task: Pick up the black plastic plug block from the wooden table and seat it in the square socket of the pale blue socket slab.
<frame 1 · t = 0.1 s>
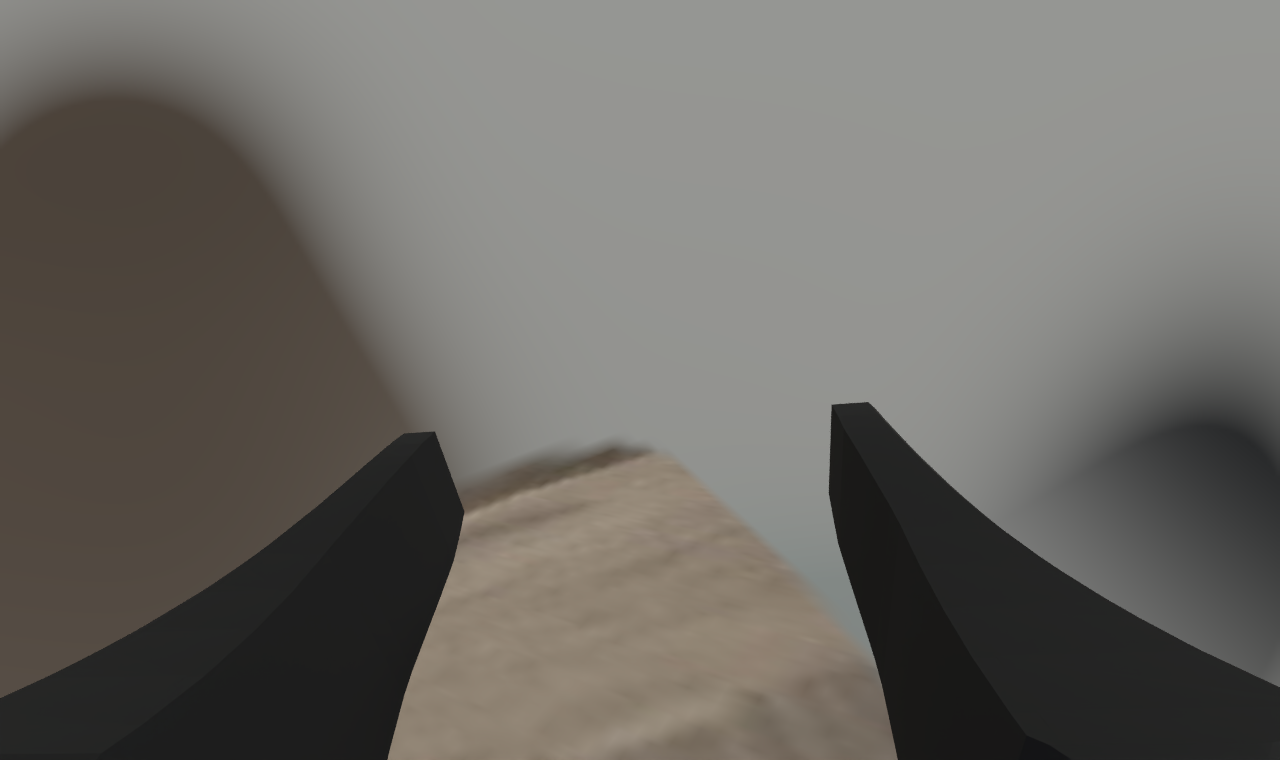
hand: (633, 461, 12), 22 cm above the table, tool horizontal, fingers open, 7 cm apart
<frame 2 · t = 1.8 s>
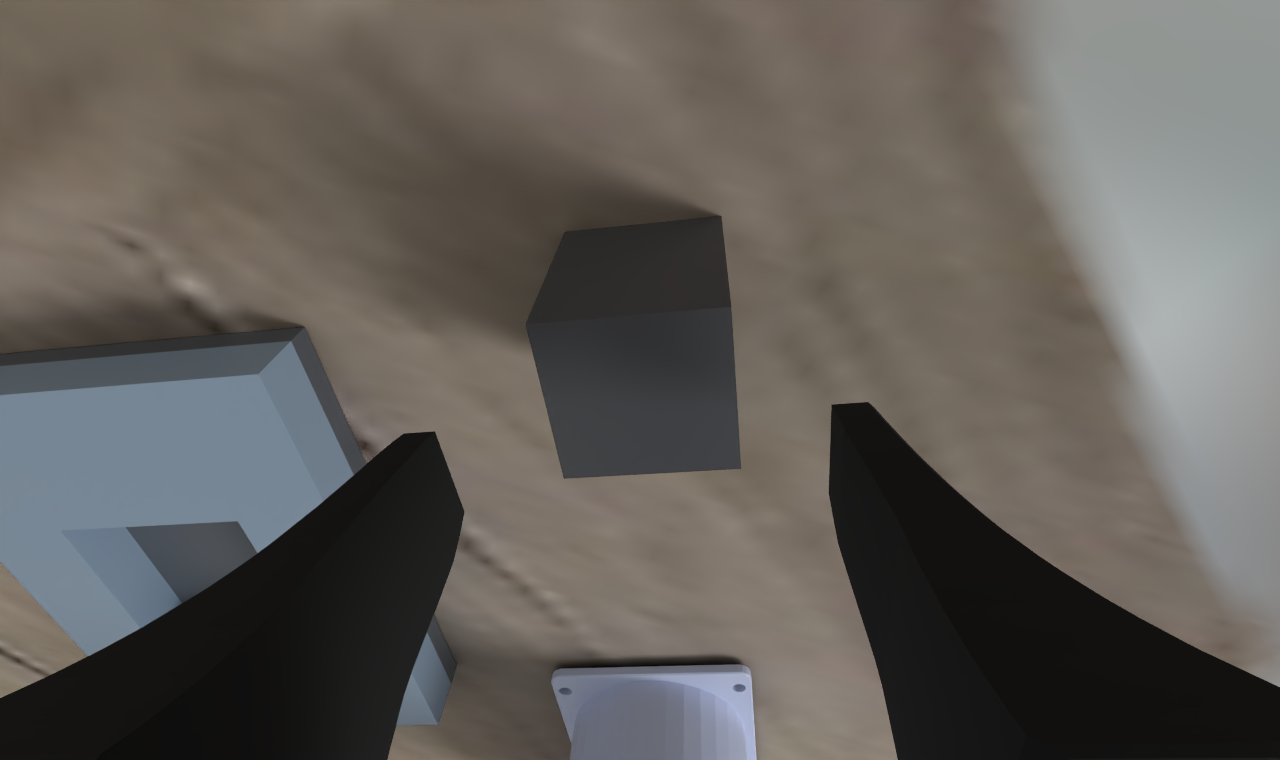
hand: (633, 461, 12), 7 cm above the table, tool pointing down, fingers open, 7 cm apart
plug: (651, 294, 18), on the table
pale blue socket slab: (236, 535, 24), on the table
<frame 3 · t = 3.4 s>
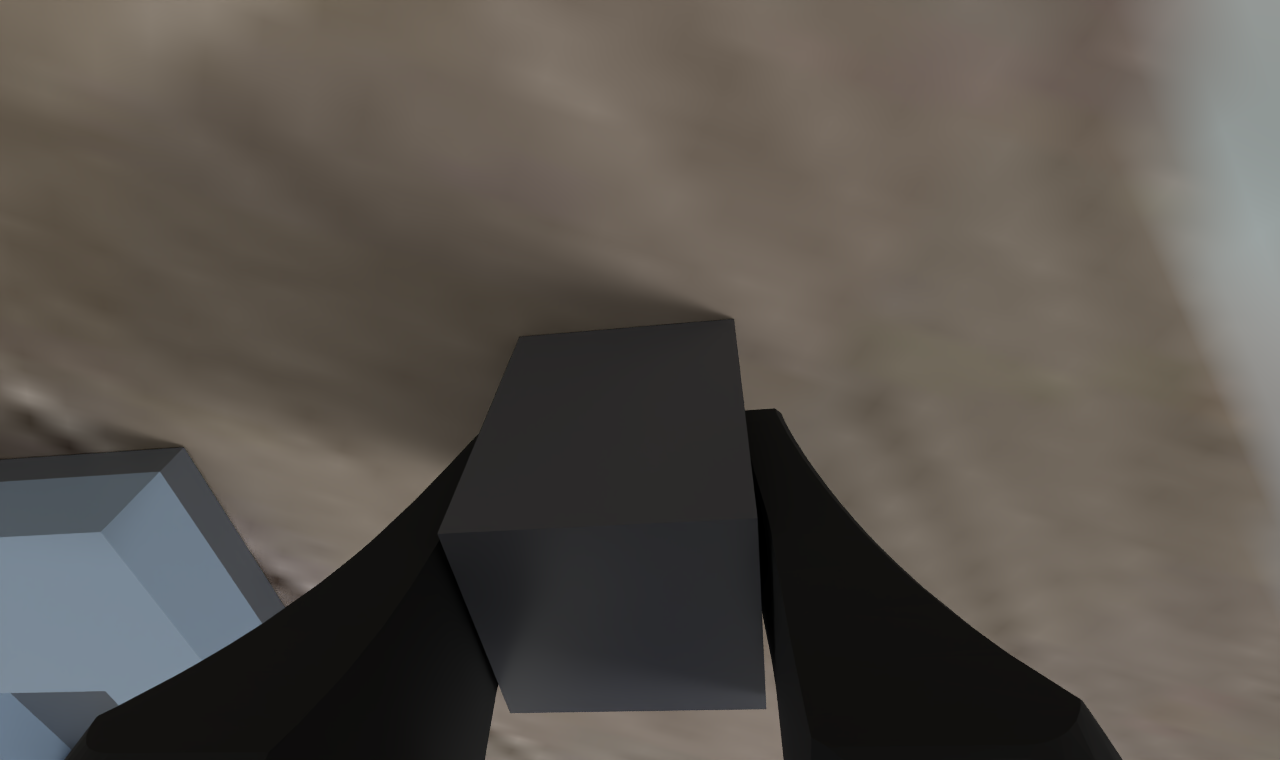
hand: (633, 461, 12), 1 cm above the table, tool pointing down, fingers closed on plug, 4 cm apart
plug: (638, 415, 14), on the table, touching gripper
pale blue socket slab: (131, 673, 20), on the table
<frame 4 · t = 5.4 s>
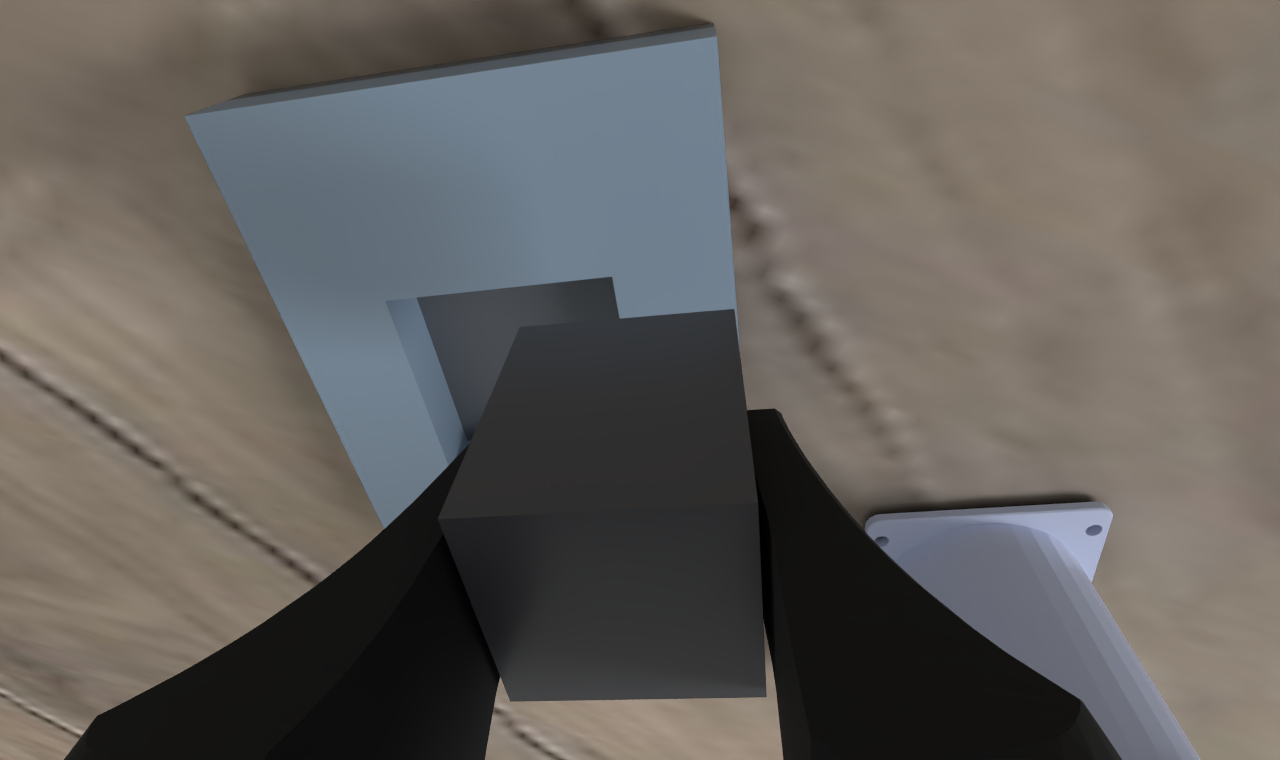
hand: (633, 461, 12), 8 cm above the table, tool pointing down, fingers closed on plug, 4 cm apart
plug: (638, 406, 14), point 7 cm above the table, touching gripper
pale blue socket slab: (540, 341, 21), on the table
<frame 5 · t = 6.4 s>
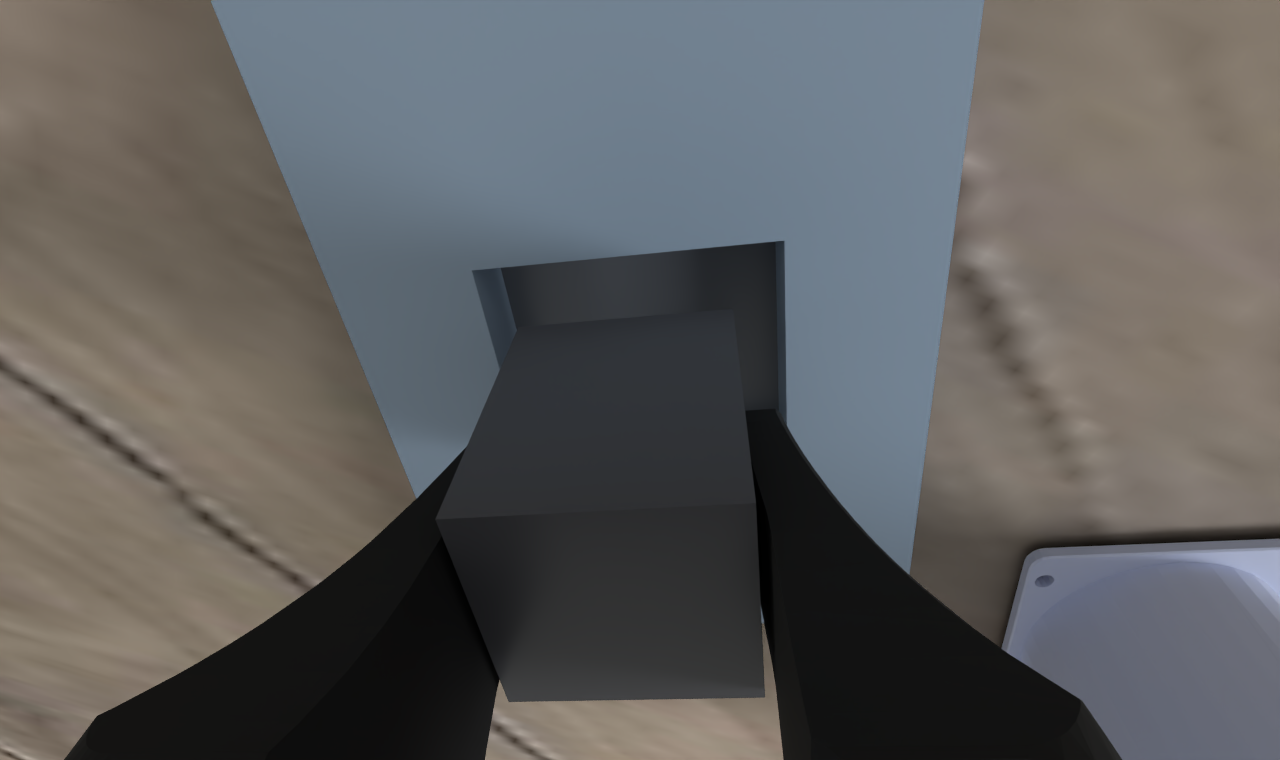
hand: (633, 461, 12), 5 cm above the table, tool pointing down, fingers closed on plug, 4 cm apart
plug: (637, 406, 14), point 3 cm above the table, touching gripper
pale blue socket slab: (649, 329, 17), on the table
when the fingers open (3 cm above the table, at t = 7.5 s): plug drops 1 cm, resting on pale blue socket slab.
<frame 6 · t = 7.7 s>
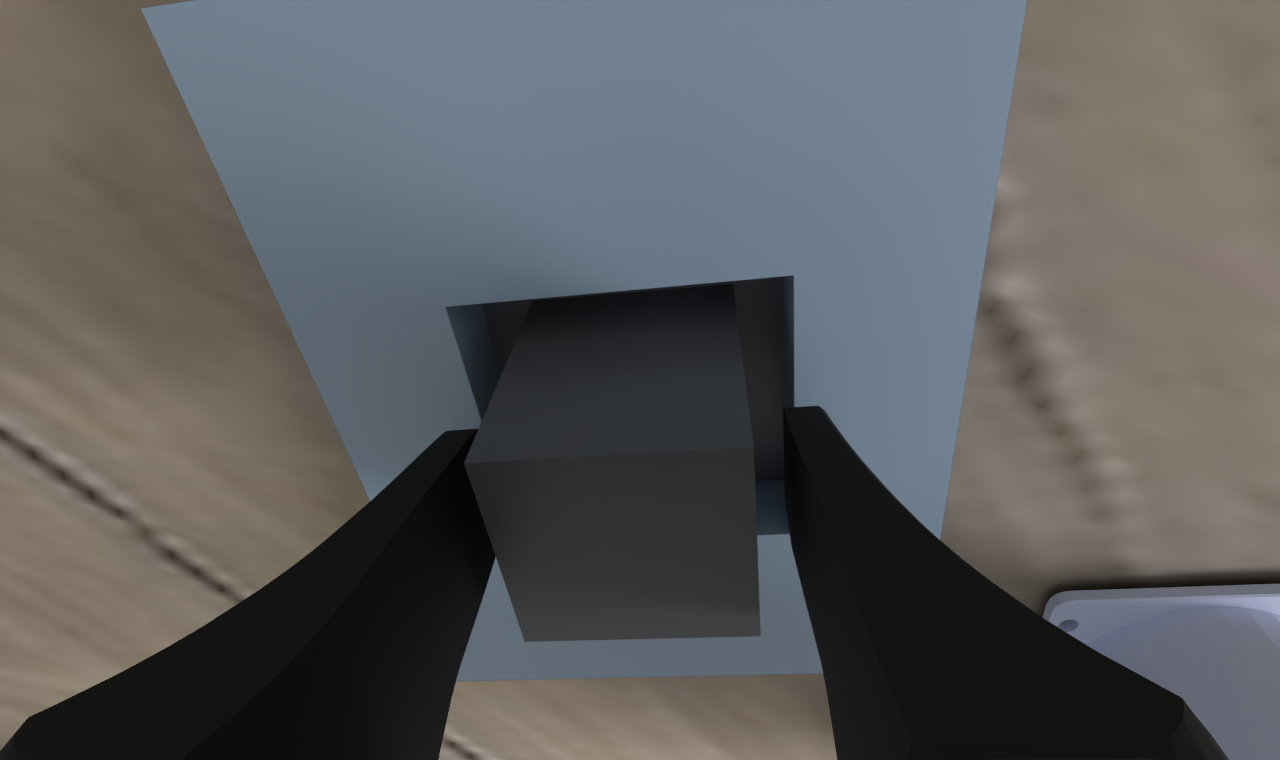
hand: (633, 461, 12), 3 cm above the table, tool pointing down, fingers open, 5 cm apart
plug: (642, 377, 14), point 1 cm above the table, touching pale blue socket slab
pale blue socket slab: (644, 362, 15), on the table
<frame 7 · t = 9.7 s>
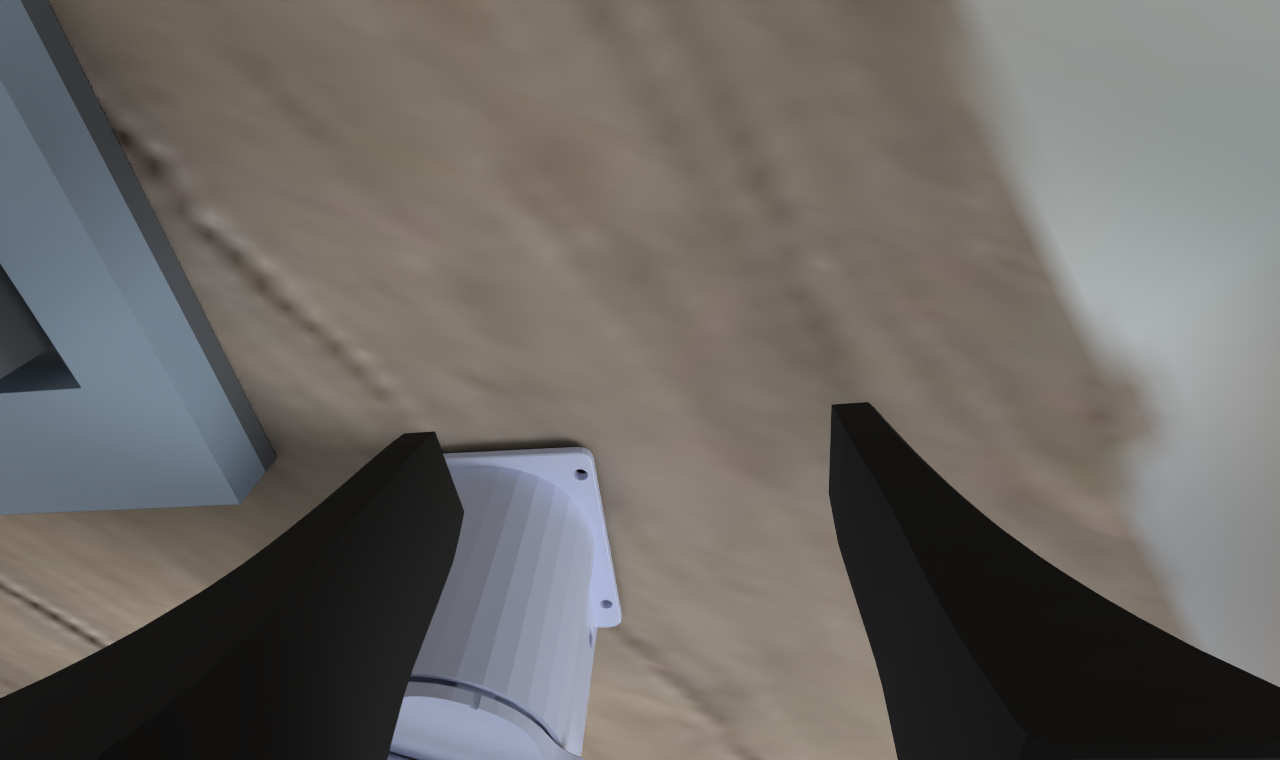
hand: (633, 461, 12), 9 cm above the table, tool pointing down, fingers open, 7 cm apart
pale blue socket slab: (3, 272, 22), on the table
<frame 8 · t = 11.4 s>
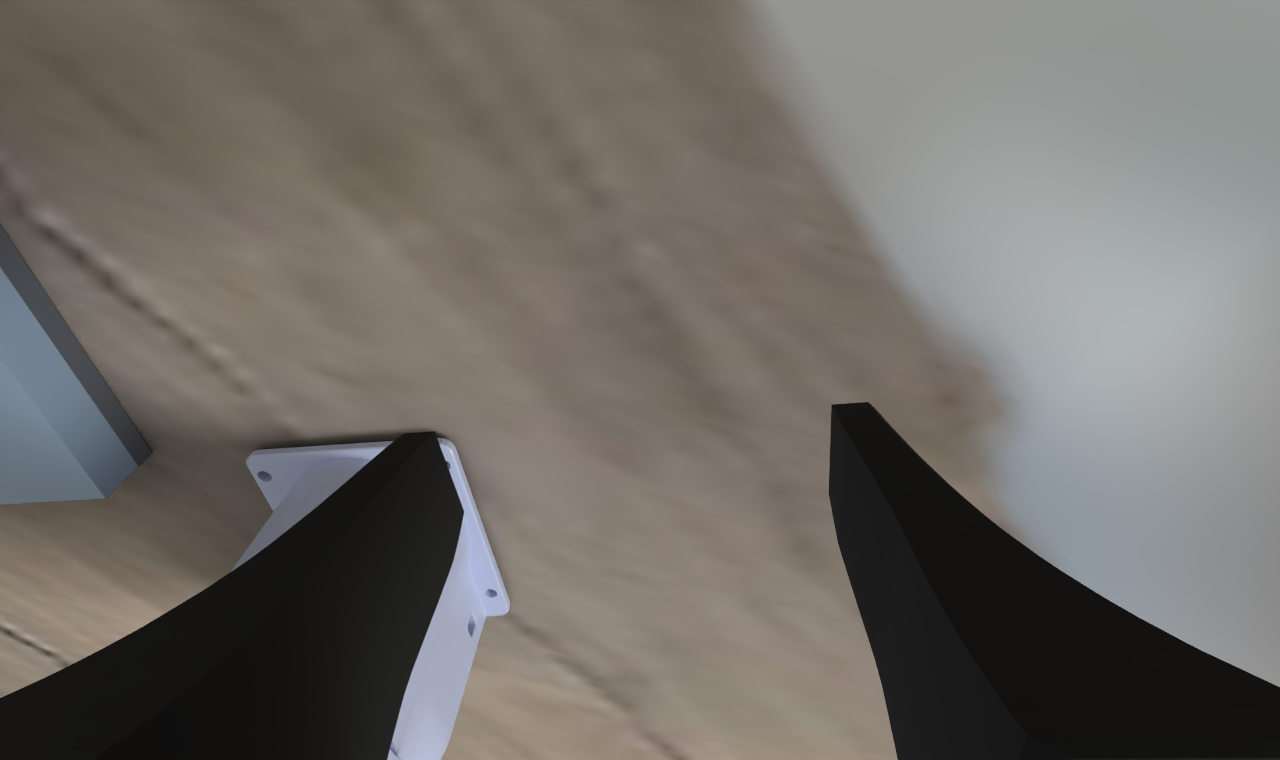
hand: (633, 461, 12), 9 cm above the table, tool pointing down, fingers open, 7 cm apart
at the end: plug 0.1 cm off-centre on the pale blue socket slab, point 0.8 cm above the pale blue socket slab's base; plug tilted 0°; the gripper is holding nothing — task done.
